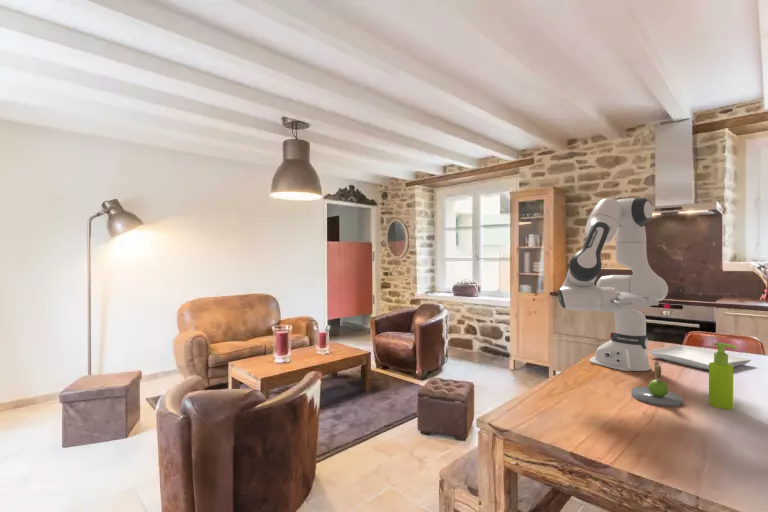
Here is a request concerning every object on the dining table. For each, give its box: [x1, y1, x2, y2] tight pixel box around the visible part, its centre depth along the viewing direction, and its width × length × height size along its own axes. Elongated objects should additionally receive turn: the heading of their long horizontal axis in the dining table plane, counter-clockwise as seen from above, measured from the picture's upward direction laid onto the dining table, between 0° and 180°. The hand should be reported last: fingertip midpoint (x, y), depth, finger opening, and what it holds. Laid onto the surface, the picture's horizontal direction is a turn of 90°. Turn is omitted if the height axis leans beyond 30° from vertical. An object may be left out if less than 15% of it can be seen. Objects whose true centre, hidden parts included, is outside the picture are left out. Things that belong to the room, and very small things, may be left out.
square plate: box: [647, 345, 752, 371], centre depth 174 cm, size 27×27×4 cm
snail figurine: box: [647, 356, 669, 397], centre depth 129 cm, size 5×6×12 cm
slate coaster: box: [630, 386, 683, 408], centre depth 131 cm, size 14×14×2 cm
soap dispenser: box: [708, 342, 739, 411], centre depth 124 cm, size 6×7×20 cm
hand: (653, 300), depth 136 cm, fingers open, 8 cm apart
